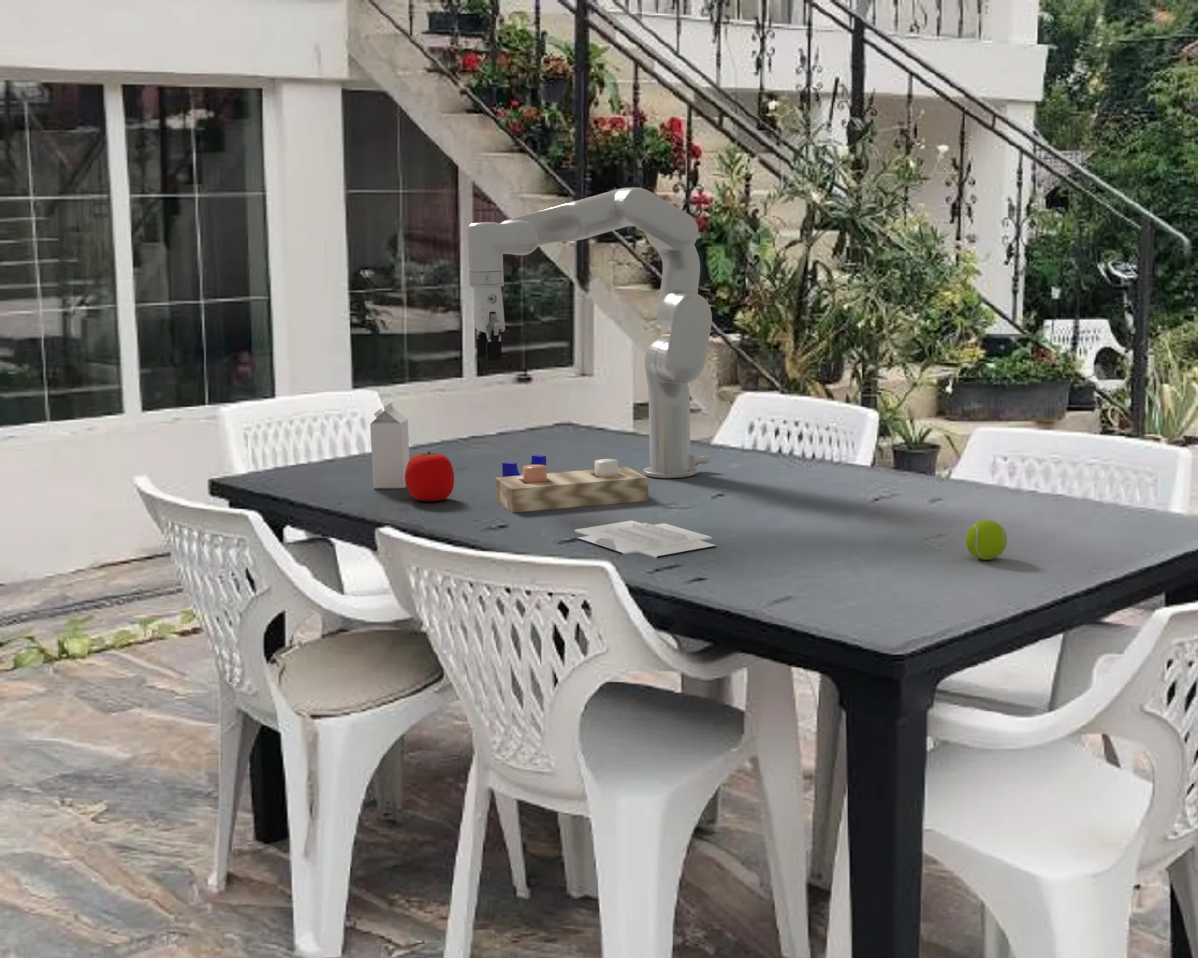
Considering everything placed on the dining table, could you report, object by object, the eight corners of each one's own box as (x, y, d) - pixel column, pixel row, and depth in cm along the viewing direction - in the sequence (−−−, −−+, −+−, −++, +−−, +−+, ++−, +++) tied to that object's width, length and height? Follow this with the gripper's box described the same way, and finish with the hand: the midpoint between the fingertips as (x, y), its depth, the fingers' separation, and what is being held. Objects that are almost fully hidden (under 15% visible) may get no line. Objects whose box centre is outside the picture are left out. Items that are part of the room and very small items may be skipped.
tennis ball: (999, 554, 271) (1000, 515, 270) (1011, 563, 264) (1012, 524, 263) (960, 555, 271) (961, 516, 270) (971, 564, 264) (972, 525, 263)
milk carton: (410, 483, 351) (407, 401, 348) (404, 489, 345) (399, 405, 341) (380, 483, 352) (376, 401, 349) (373, 489, 345) (368, 406, 342)
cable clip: (531, 479, 353) (530, 454, 352) (546, 481, 350) (545, 455, 349) (498, 488, 344) (497, 462, 343) (513, 490, 341) (512, 464, 340)
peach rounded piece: (543, 485, 327) (542, 463, 326) (549, 489, 323) (549, 467, 322) (521, 487, 326) (520, 465, 325) (527, 491, 321) (526, 469, 320)
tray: (645, 522, 306) (645, 504, 306) (732, 552, 284) (732, 533, 283) (559, 537, 295) (559, 518, 295) (642, 570, 273) (642, 550, 272)
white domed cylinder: (614, 479, 332) (613, 458, 331) (621, 483, 327) (620, 461, 326) (592, 481, 331) (591, 460, 330) (599, 485, 326) (598, 463, 325)
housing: (627, 489, 338) (626, 466, 337) (648, 500, 325) (648, 477, 324) (496, 500, 329) (495, 477, 328) (512, 512, 316) (511, 489, 315)
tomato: (447, 505, 325) (445, 456, 323) (400, 504, 327) (397, 455, 325) (461, 495, 335) (459, 447, 333) (415, 495, 337) (413, 447, 335)
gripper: (512, 281, 324) (515, 361, 328) (494, 277, 341) (497, 353, 344) (477, 282, 322) (481, 363, 325) (461, 278, 339) (464, 355, 342)
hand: (489, 358), depth 335 cm, fingers open, 9 cm apart
